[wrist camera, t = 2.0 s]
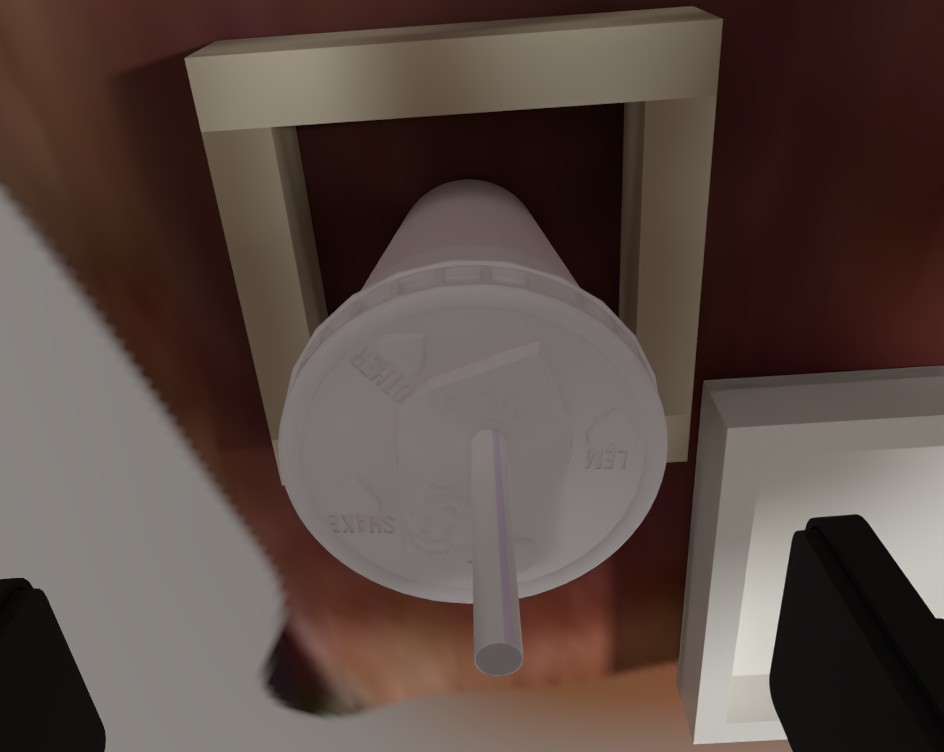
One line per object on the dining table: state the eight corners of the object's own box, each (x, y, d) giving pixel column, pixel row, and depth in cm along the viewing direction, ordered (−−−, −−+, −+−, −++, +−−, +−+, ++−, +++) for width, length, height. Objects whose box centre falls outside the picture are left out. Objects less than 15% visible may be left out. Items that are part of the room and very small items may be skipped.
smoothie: (635, 188, 21) (880, 584, 9) (524, 386, 24) (590, 892, 11) (401, 80, 19) (299, 370, 7) (313, 304, 22) (136, 781, 10)
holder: (692, 6, 19) (723, 18, 16) (666, 411, 24) (686, 461, 22) (216, 40, 19) (184, 58, 17) (297, 434, 24) (281, 485, 22)
